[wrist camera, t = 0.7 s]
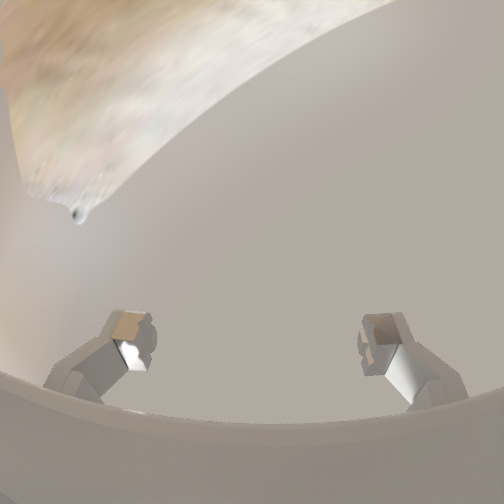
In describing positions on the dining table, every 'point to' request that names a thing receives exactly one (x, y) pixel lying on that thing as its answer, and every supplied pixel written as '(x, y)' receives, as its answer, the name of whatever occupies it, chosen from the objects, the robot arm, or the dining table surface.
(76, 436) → the robot arm
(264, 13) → the dining table surface
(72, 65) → the dining table surface
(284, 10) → the dining table surface
